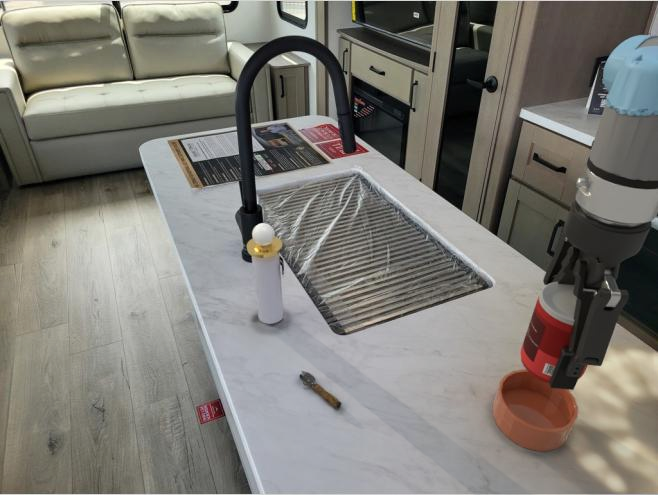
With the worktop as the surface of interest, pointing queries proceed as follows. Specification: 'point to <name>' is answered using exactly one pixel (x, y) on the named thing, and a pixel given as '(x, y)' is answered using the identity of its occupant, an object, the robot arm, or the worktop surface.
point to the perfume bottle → (267, 272)
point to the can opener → (319, 389)
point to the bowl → (534, 411)
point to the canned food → (549, 330)
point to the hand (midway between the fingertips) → (552, 360)
